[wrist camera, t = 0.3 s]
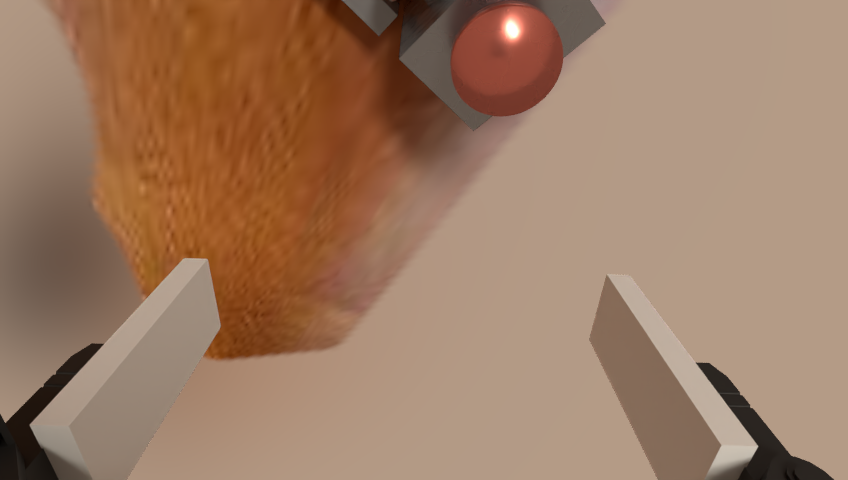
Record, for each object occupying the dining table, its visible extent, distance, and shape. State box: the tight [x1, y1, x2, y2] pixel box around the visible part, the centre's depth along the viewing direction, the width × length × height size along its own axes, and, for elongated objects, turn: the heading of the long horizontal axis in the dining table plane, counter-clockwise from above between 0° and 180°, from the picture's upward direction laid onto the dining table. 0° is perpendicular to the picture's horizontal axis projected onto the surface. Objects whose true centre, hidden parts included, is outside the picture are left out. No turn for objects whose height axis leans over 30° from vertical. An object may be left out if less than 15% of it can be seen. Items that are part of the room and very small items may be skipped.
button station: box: [390, 0, 606, 131], centre depth 29 cm, size 10×10×12 cm
